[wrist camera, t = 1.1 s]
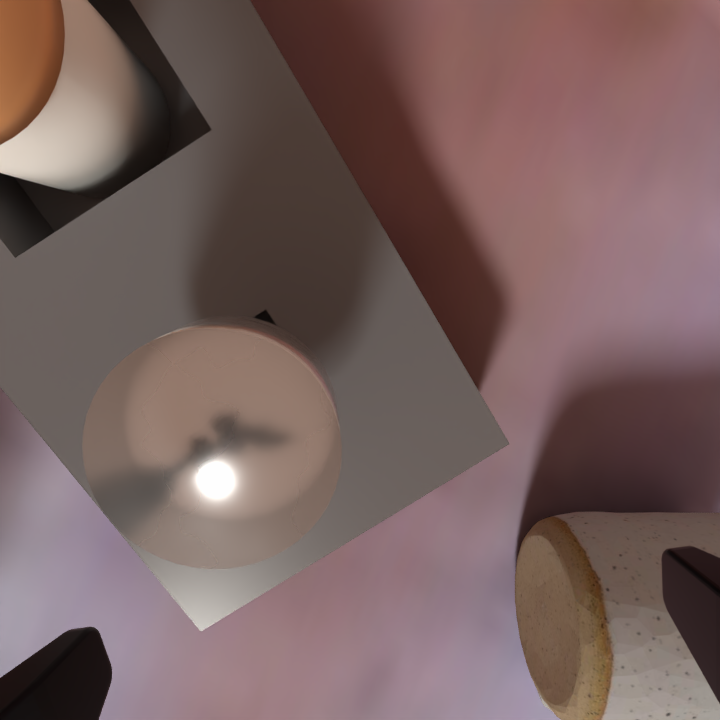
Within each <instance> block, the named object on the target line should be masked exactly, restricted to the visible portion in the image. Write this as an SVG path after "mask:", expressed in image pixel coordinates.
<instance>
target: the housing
mask: <svg viewBox="0 0 720 720" xmlns="http://www.w3.org/2000/svg"><path fill="white" fill-rule="evenodd" d="M88 1H89V2H90V4H91V5H92V6H93V7H94V8H95V9H96V10H97V11H98V13H99V14H100V15H101V16H102V17H103V18H104V19H105V20H106V22H107V23H108V24H109V25H110V26H111V27H112V28H113V29H114V30H115V32H116V33H117V34H118V35H119V36H120V37H121V38H122V39H123V41H124V42H125V43H126V44H127V45H128V46H129V47H130V48H131V50H132V51H133V52H134V53H135V54H136V55H137V56H138V57H139V58H140V60H141V61H142V62H143V63H144V64H145V65H146V66H147V67H148V69H149V70H150V71H151V73H152V74H153V75H154V77H155V78H156V80H157V82H158V83H159V85H160V87H161V89H162V91H163V94H164V96H165V99H166V102H167V106H168V110H169V116H170V136H169V142H168V147H167V150H166V153H165V156H164V158H163V160H162V162H161V163H160V164H159V165H157V166H156V167H154V168H153V169H151V170H150V171H148V172H146V173H145V174H143V175H142V176H140V177H139V178H137V179H136V180H134V181H133V182H131V183H130V184H128V185H127V186H125V187H123V188H122V189H120V190H119V191H117V192H116V193H114V194H113V195H111V196H110V197H106V198H97V197H88V196H83V195H79V194H75V193H72V192H68V191H64V190H61V189H57V188H53V187H50V186H46V185H42V184H39V183H35V182H32V181H28V180H24V179H21V178H17V177H13V176H10V175H6V174H2V173H0V387H1V389H2V390H3V391H4V392H5V394H6V395H7V396H8V397H9V398H10V400H11V401H12V402H13V403H14V404H15V406H16V407H17V408H18V409H19V411H20V412H21V413H22V414H23V415H24V417H25V418H26V419H27V420H28V422H29V423H30V424H31V425H32V426H33V428H34V429H35V430H36V431H37V433H38V434H39V435H40V436H41V437H42V439H43V440H44V441H45V442H46V444H47V445H48V446H49V447H50V448H51V450H52V451H53V452H54V453H55V454H56V456H57V457H58V458H59V459H60V461H61V462H62V463H63V464H64V465H65V467H66V468H67V469H68V470H69V472H70V473H71V474H72V475H73V476H74V478H75V479H76V480H77V481H78V483H79V484H80V485H81V486H82V487H83V489H84V490H85V491H86V492H87V493H88V495H89V496H90V497H91V498H92V500H93V501H94V502H95V503H96V504H97V506H98V507H99V508H100V506H99V504H98V502H97V500H96V499H95V497H94V495H93V493H92V490H91V488H90V485H89V482H88V479H87V476H86V471H85V467H84V462H83V449H82V442H83V429H84V425H85V420H86V416H87V412H88V410H89V407H90V405H91V402H92V399H93V397H94V396H95V394H96V392H97V390H98V388H99V387H100V385H101V383H102V382H103V381H104V379H105V378H106V377H107V375H108V374H109V373H110V372H111V370H112V369H113V368H114V367H116V366H117V365H118V364H119V363H120V362H121V361H122V360H123V359H124V358H125V357H127V356H128V355H129V354H131V353H132V352H133V351H135V350H136V349H138V348H139V347H141V346H143V345H145V344H147V343H149V342H150V341H152V340H154V339H157V338H159V337H161V336H163V335H165V334H167V333H169V332H171V331H173V330H175V329H178V328H180V327H182V326H184V325H186V324H189V323H192V322H194V321H197V320H200V319H205V318H209V317H215V316H225V315H230V316H245V317H251V318H256V319H260V320H263V321H267V322H269V323H272V324H274V325H276V326H279V327H281V328H283V329H284V330H286V331H288V332H289V333H291V334H293V335H294V336H295V337H297V338H298V339H299V340H300V341H302V342H303V343H304V344H305V345H306V346H307V347H308V348H309V349H310V350H311V351H312V352H313V353H314V354H315V356H316V357H317V358H318V359H319V361H320V362H321V363H322V365H323V367H324V369H325V370H326V372H327V374H328V376H329V378H330V381H331V383H332V386H333V389H334V393H335V397H336V401H337V409H338V418H339V426H340V435H341V444H342V458H341V468H340V474H339V479H338V482H337V485H336V488H335V491H334V494H333V496H332V498H331V500H330V502H329V504H328V506H327V508H326V510H325V511H324V513H323V514H322V516H321V517H320V519H319V520H318V521H317V522H316V524H315V525H314V526H313V527H312V528H311V529H310V531H308V532H307V533H306V534H305V535H304V536H303V537H302V538H301V539H300V540H299V541H297V542H296V543H294V544H293V545H292V546H290V547H289V548H287V549H286V550H284V551H282V552H280V553H278V554H277V555H275V556H273V557H271V558H268V559H265V560H263V561H260V562H258V563H254V564H250V565H246V566H242V567H236V568H228V569H204V568H194V567H189V566H184V565H180V564H176V563H173V562H170V561H167V560H164V559H162V558H159V557H157V556H155V555H153V554H151V553H149V552H147V551H145V550H144V549H142V548H141V547H139V546H138V545H136V544H135V543H133V542H132V541H131V540H129V539H128V538H127V537H126V536H125V535H123V534H122V533H121V532H120V531H119V530H118V529H117V528H116V527H115V528H116V529H117V530H118V531H119V533H120V534H121V535H122V536H123V537H124V539H125V540H126V541H127V542H128V543H129V545H130V546H131V547H132V548H133V550H134V551H135V552H136V553H137V554H138V556H139V557H140V558H141V559H142V561H143V562H144V563H145V564H146V565H147V567H148V568H149V569H150V570H151V572H152V573H153V574H154V575H155V576H156V578H157V579H158V580H159V581H160V582H161V584H162V585H163V586H164V587H165V589H166V590H167V591H168V592H169V593H170V595H171V596H172V597H173V598H174V600H175V601H176V602H177V603H178V604H179V606H180V607H181V608H182V609H183V611H184V612H185V613H186V614H187V615H188V617H189V618H190V619H191V620H192V621H193V623H194V624H195V625H196V626H197V628H198V629H199V630H200V631H203V630H204V629H206V628H207V627H209V626H211V625H212V624H214V623H216V622H217V621H219V620H221V619H222V618H224V617H226V616H227V615H229V614H231V613H232V612H234V611H235V610H237V609H239V608H240V607H242V606H244V605H245V604H247V603H249V602H250V601H252V600H254V599H255V598H257V597H258V596H260V595H262V594H263V593H265V592H267V591H268V590H270V589H272V588H273V587H275V586H277V585H278V584H280V583H281V582H283V581H285V580H286V579H288V578H290V577H291V576H293V575H295V574H296V573H298V572H300V571H301V570H303V569H304V568H306V567H308V566H309V565H311V564H313V563H314V562H316V561H318V560H319V559H321V558H323V557H324V556H326V555H328V554H329V553H331V552H332V551H334V550H336V549H337V548H339V547H341V546H342V545H344V544H346V543H347V542H349V541H351V540H352V539H354V538H355V537H357V536H359V535H360V534H362V533H364V532H365V531H367V530H369V529H370V528H372V527H374V526H375V525H377V524H378V523H380V522H382V521H383V520H385V519H387V518H388V517H390V516H392V515H393V514H395V513H397V512H398V511H400V510H401V509H403V508H405V507H406V506H408V505H410V504H411V503H413V502H415V501H416V500H418V499H420V498H421V497H423V496H425V495H426V494H428V493H429V492H431V491H433V490H434V489H436V488H438V487H439V486H441V485H443V484H444V483H446V482H448V481H449V480H451V479H452V478H454V477H456V476H457V475H459V474H461V473H462V472H464V471H466V470H467V469H469V468H471V467H472V466H474V465H475V464H477V463H479V462H480V461H482V460H484V459H485V458H487V457H489V456H490V455H492V454H494V453H495V452H497V451H498V450H500V449H502V448H503V447H505V446H507V445H508V444H509V442H508V440H507V439H506V437H505V435H504V434H503V432H502V430H501V428H500V427H499V425H498V423H497V422H496V420H495V418H494V416H493V415H492V413H491V411H490V410H489V408H488V406H487V404H486V403H485V401H484V399H483V398H482V396H481V394H480V393H479V391H478V389H477V387H476V386H475V384H474V382H473V381H472V379H471V377H470V375H469V374H468V372H467V370H466V369H465V367H464V365H463V363H462V362H461V360H460V358H459V357H458V355H457V353H456V351H455V350H454V348H453V346H452V345H451V343H450V341H449V340H448V338H447V336H446V334H445V333H444V331H443V329H442V328H441V326H440V324H439V322H438V321H437V319H436V317H435V316H434V314H433V312H432V310H431V309H430V307H429V305H428V304H427V302H426V300H425V298H424V297H423V295H422V293H421V292H420V290H419V288H418V287H417V285H416V283H415V281H414V280H413V278H412V276H411V275H410V273H409V271H408V269H407V268H406V266H405V264H404V263H403V261H402V259H401V257H400V256H399V254H398V252H397V251H396V249H395V247H394V245H393V244H392V242H391V240H390V239H389V237H388V235H387V234H386V232H385V230H384V228H383V227H382V225H381V223H380V222H379V220H378V218H377V216H376V215H375V213H374V211H373V210H372V208H371V206H370V204H369V203H368V201H367V199H366V198H365V196H364V194H363V192H362V191H361V189H360V187H359V186H358V184H357V182H356V181H355V179H354V177H353V175H352V174H351V172H350V170H349V169H348V167H347V165H346V163H345V162H344V160H343V158H342V157H341V155H340V153H339V151H338V150H337V148H336V146H335V145H334V143H333V141H332V139H331V138H330V136H329V134H328V133H327V131H326V129H325V127H324V126H323V124H322V122H321V121H320V119H319V117H318V116H317V114H316V112H315V110H314V109H313V107H312V105H311V104H310V102H309V100H308V98H307V97H306V95H305V93H304V92H303V90H302V88H301V86H300V85H299V83H298V81H297V80H296V78H295V76H294V74H293V73H292V71H291V69H290V68H289V66H288V64H287V63H286V61H285V59H284V57H283V56H282V54H281V52H280V51H279V49H278V47H277V45H276V44H275V42H274V40H273V39H272V37H271V35H270V33H269V32H268V30H267V28H266V27H265V25H264V23H263V21H262V20H261V18H260V16H259V15H258V13H257V11H256V10H255V8H254V6H253V4H252V3H251V1H250V0H88ZM100 509H101V508H100ZM101 511H102V512H103V510H102V509H101ZM103 513H104V512H103ZM104 514H105V513H104ZM106 517H107V516H106ZM107 518H108V517H107ZM110 522H111V521H110ZM111 523H112V522H111ZM112 524H113V523H112Z"/></svg>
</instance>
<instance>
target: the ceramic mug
mask: <svg viewBox="0 0 720 720" xmlns="http://www.w3.org/2000/svg"><path fill="white" fill-rule="evenodd" d="M683 546H694V547H696V548H699V549H701V550H703V551H706V552H708V553H710V554H713V555H715V556H717V557H720V513H670V512H647V513H613V512H597V511H596V512H573V513H567V514H561V515H556V516H552V517H547V518H545V519H543V520H540V521H538V522H537V523H536V524H535V525H534V526H533V527H532V528H531V529H530V531H529V532H528V533H527V535H526V536H525V538H524V540H523V541H522V544H521V547H520V551H519V554H518V558H517V565H516V574H515V604H516V614H517V622H518V628H519V635H520V640H521V644H522V648H523V652H524V655H525V659H526V663H527V666H528V669H529V672H530V675H531V677H532V679H533V681H534V684H535V686H536V688H537V691H538V694H539V696H540V699H541V701H542V703H543V705H544V706H545V707H547V708H548V709H550V710H552V711H553V712H554V714H555V715H556V716H557V717H558V718H560V719H561V720H720V704H719V702H718V700H717V699H716V697H715V695H714V693H713V691H712V690H711V688H710V686H709V684H708V683H707V681H706V679H705V677H704V675H703V674H702V672H701V670H700V668H699V667H698V665H697V663H696V661H695V659H694V658H693V656H692V654H691V652H690V651H689V649H688V647H687V645H686V643H685V642H684V640H683V638H682V636H681V635H680V633H679V631H678V629H677V627H676V626H675V624H674V622H673V620H672V618H671V617H670V615H669V613H668V611H667V609H666V606H665V603H664V600H663V593H662V564H661V558H662V553H663V551H664V550H666V549H668V548H675V547H683Z"/></svg>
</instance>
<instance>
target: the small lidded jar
mask: <svg viewBox="0 0 720 720" xmlns="http://www.w3.org/2000/svg"><path fill="white" fill-rule="evenodd" d="M169 136H170V116H169V110H168V106H167V102H166V99H165V96H164V94H163V91H162V89H161V87H160V85H159V83H158V82H157V80H156V78H155V77H154V75H153V74H152V73H151V71H150V70H149V69H148V67H147V66H146V65H145V64H144V63H143V62H142V61H141V60H140V58H139V57H138V56H137V55H136V54H135V53H134V52H133V51H132V50H131V48H130V47H129V46H128V45H127V44H126V43H125V42H124V41H123V39H122V38H121V37H120V36H119V35H118V34H117V33H116V32H115V30H114V29H113V28H112V27H111V26H110V25H109V24H108V23H107V22H106V20H105V19H104V18H103V17H102V16H101V15H100V14H99V13H98V11H97V10H96V9H95V8H94V7H93V6H92V5H91V4H90V2H89V1H88V0H0V173H2V174H6V175H10V176H13V177H17V178H21V179H24V180H28V181H32V182H35V183H39V184H42V185H46V186H50V187H53V188H57V189H61V190H64V191H68V192H72V193H75V194H79V195H83V196H88V197H97V198H106V197H110V196H111V195H113V194H114V193H116V192H117V191H119V190H120V189H122V188H123V187H125V186H127V185H128V184H130V183H131V182H133V181H134V180H136V179H137V178H139V177H140V176H142V175H143V174H145V173H146V172H148V171H150V170H151V169H153V168H154V167H156V166H157V165H159V164H160V163H161V162H162V160H163V158H164V156H165V153H166V150H167V147H168V142H169Z"/></svg>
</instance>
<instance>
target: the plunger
mask: <svg viewBox="0 0 720 720" xmlns="http://www.w3.org/2000/svg"><path fill="white" fill-rule="evenodd" d="M82 449H83V462H84V467H85V471H86V476H87V479H88V482H89V485H90V488H91V490H92V493H93V495H94V497H95V499H96V500H97V502H98V504H99V506H100V508H101V509H102V510H103V512H104V513H105V515H106V516H107V517H108V519H109V520H110V521H111V522H112V523H113V525H114V526H115V527H116V528H117V529H118V530H119V531H120V532H121V533H122V534H123V535H125V536H126V537H127V538H128V539H129V540H131V541H132V542H133V543H135V544H136V545H138V546H139V547H141V548H142V549H144V550H145V551H147V552H149V553H151V554H153V555H155V556H157V557H159V558H162V559H164V560H167V561H170V562H173V563H176V564H180V565H184V566H189V567H194V568H204V569H228V568H236V567H242V566H246V565H250V564H254V563H258V562H260V561H263V560H265V559H268V558H271V557H273V556H275V555H277V554H278V553H280V552H282V551H284V550H286V549H287V548H289V547H290V546H292V545H293V544H294V543H296V542H297V541H299V540H300V539H301V538H302V537H303V536H304V535H305V534H306V533H307V532H308V531H310V529H311V528H312V527H313V526H314V525H315V524H316V522H317V521H318V520H319V519H320V517H321V516H322V514H323V513H324V511H325V510H326V508H327V506H328V504H329V502H330V500H331V498H332V496H333V494H334V491H335V488H336V485H337V482H338V479H339V474H340V468H341V458H342V444H341V435H340V426H339V418H338V409H337V401H336V397H335V393H334V389H333V386H332V383H331V381H330V378H329V376H328V374H327V372H326V370H325V369H324V367H323V365H322V363H321V362H320V361H319V359H318V358H317V357H316V356H315V354H314V353H313V352H312V351H311V350H310V349H309V348H308V347H307V346H306V345H305V344H304V343H303V342H302V341H300V340H299V339H298V338H297V337H295V336H294V335H293V334H291V333H289V332H288V331H286V330H284V329H283V328H281V327H279V326H276V325H274V324H272V323H269V322H267V321H263V320H260V319H256V318H251V317H245V316H230V315H225V316H215V317H209V318H205V319H200V320H197V321H194V322H192V323H189V324H186V325H184V326H182V327H180V328H178V329H175V330H173V331H171V332H169V333H167V334H165V335H163V336H161V337H159V338H157V339H154V340H152V341H150V342H149V343H147V344H145V345H143V346H141V347H139V348H138V349H136V350H135V351H133V352H132V353H131V354H129V355H128V356H127V357H125V358H124V359H123V360H122V361H121V362H120V363H119V364H118V365H117V366H116V367H114V368H113V369H112V370H111V372H110V373H109V374H108V375H107V377H106V378H105V379H104V381H103V382H102V383H101V385H100V387H99V388H98V390H97V392H96V394H95V396H94V397H93V399H92V402H91V405H90V407H89V410H88V412H87V416H86V420H85V425H84V429H83V442H82Z"/></svg>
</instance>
